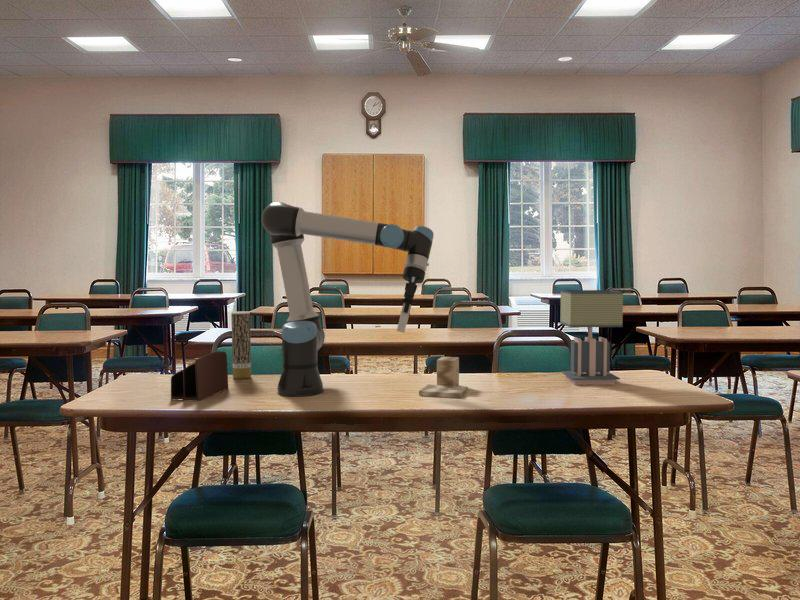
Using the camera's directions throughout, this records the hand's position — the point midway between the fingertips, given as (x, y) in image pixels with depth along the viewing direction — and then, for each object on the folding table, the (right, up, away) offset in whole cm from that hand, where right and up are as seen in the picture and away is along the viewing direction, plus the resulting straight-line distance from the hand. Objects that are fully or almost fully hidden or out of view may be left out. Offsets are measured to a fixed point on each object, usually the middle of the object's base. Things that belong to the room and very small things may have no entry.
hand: (401, 327), depth 211 cm
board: (+14, -22, -5) cm, 26 cm away
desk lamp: (+68, -20, +14) cm, 72 cm away
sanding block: (+16, -21, +6) cm, 27 cm away
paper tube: (-61, -20, +25) cm, 69 cm away
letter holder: (-67, -23, -3) cm, 71 cm away
